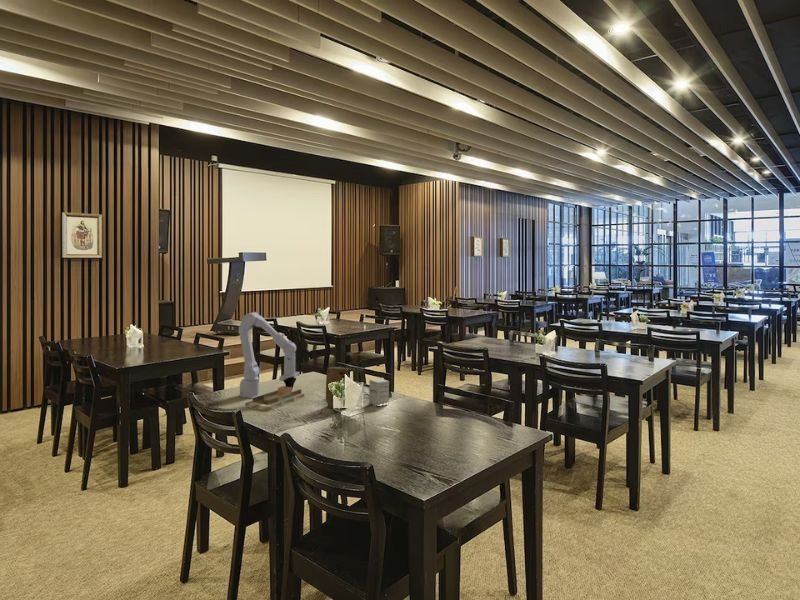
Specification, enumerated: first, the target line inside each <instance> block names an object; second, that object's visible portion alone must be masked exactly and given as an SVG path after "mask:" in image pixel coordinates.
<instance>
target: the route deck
mask: <svg viewBox="0 0 800 600" xmlns="http://www.w3.org/2000/svg"><path fill="white" fill-rule="evenodd" d="M303 397H304V398H305V393H302V389H297V390H295V391H292V392H291V393H288V394H285V395H282V396H278V389H277V390H273V391H270V392H268V393H264V394H262V395H261V396H258V397H255V398H252V400H250V401H247V402H245V404H244V406H246V407H245V408H248V407H251V408H250V409H253V408H256V409H255V410H259V409H261V410H260V411H264V410H266V411H265V412H269V410H270V411H272V409H273V410H276V409H278V408H280V406H281V407H284V406H286V405H287V404H291V403H293V401H294V402H297V401H298V399H299V400H301V399H300V398H302V399H304V398H303ZM285 404H286V405H285ZM277 407H278V408H277Z"/></svg>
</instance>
